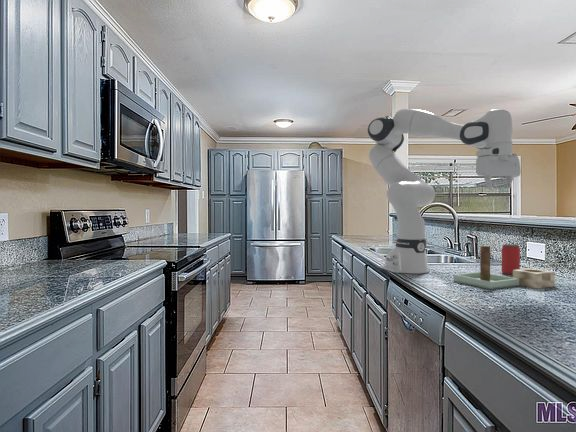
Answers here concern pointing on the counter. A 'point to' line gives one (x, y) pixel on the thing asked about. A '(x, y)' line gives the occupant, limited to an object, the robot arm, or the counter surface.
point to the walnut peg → (485, 263)
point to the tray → (494, 282)
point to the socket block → (535, 278)
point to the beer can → (510, 258)
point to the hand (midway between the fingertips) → (498, 188)
